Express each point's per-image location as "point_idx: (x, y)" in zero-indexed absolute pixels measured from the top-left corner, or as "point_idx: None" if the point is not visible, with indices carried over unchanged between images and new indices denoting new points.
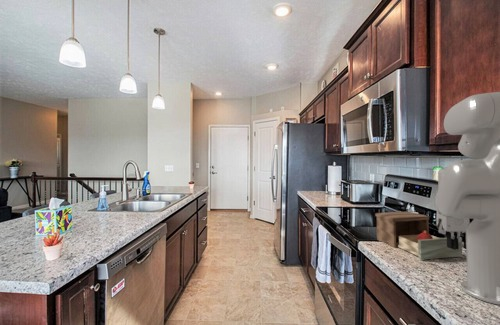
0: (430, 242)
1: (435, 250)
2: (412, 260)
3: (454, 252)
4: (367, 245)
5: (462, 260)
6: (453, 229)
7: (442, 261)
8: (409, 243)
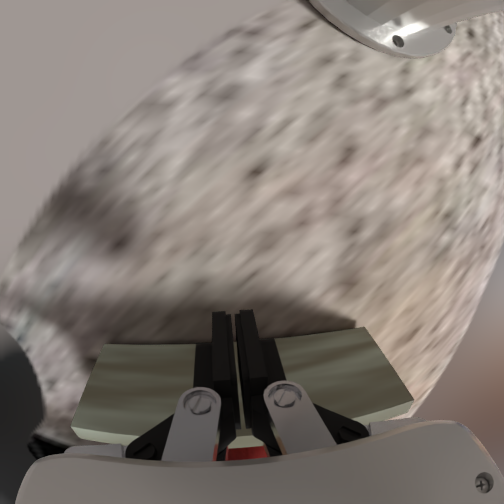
0: (337, 406)
1: (286, 370)
2: (390, 327)
3: (145, 362)
4: None
5: (134, 309)
6: (395, 464)
7: (261, 311)
8: None
